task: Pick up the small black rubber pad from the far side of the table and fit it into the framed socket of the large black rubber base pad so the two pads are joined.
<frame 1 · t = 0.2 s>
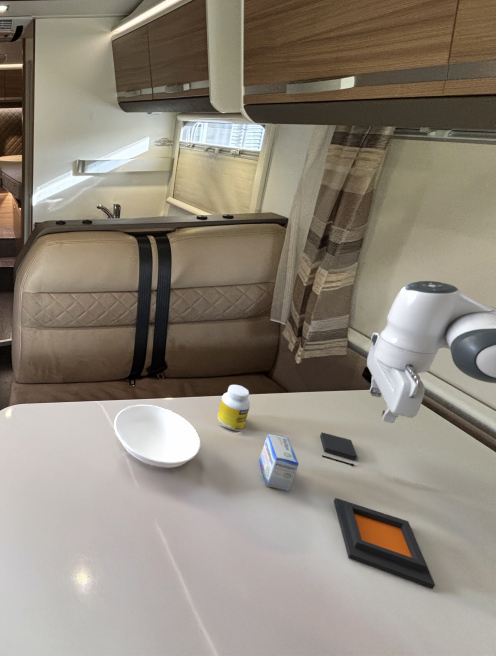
hand: (380, 407, 94), 18 cm above the table, tool pointing down, fingers open, 8 cm apart
medicine box: (273, 476, 99), on the table
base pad: (378, 541, 84), on the table
black pad: (335, 453, 105), on the table
bowl: (152, 451, 107), on the table
pill bottle: (229, 426, 115), on the table
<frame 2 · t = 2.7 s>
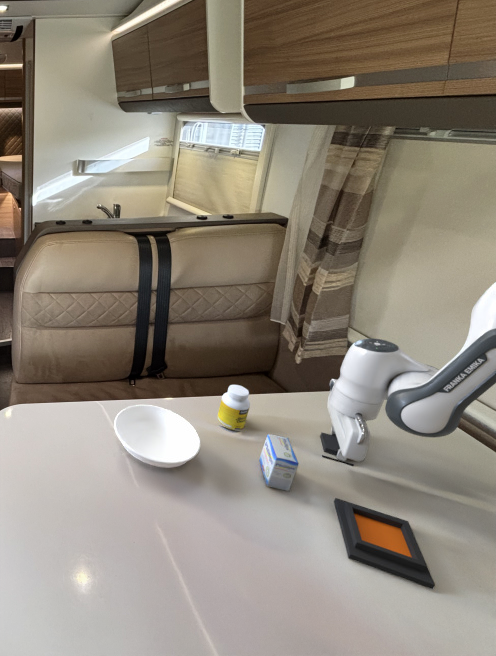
hand: (337, 447, 104), 2 cm above the table, tool pointing down, fingers closed on black pad, 6 cm apart
black pad: (335, 453, 105), on the table, touching gripper
everything else where it was.
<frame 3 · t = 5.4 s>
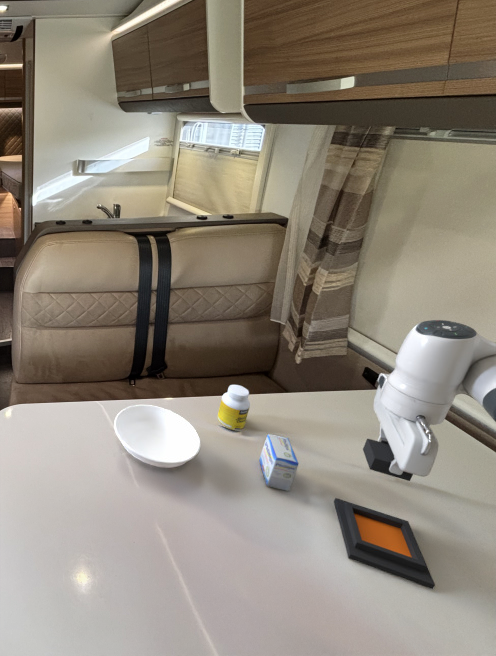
hand: (388, 457, 84), 15 cm above the table, tool pointing down, fingers closed on black pad, 6 cm apart
black pad: (385, 464, 85), point 13 cm above the table, touching gripper
everything else where it was.
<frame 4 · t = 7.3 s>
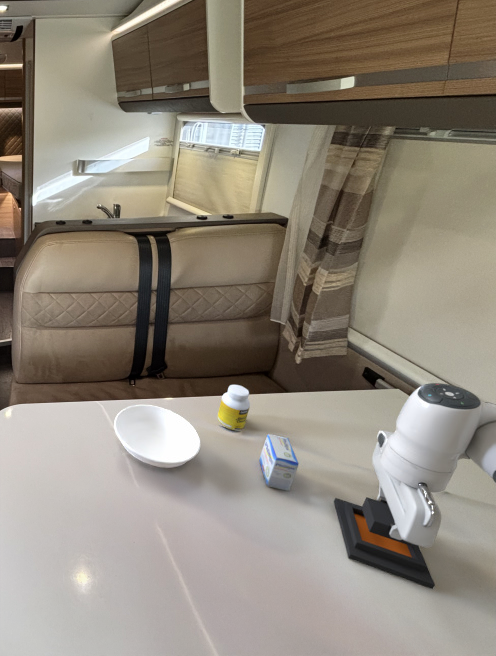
hand: (388, 519, 82), 6 cm above the table, tool pointing down, fingers closed on black pad, 6 cm apart
black pad: (384, 525, 83), point 4 cm above the table, touching gripper
everything else where it was.
when the fingers open (3 cm above the table, at t = 8.7 s): black pad stays where it is, resting on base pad.
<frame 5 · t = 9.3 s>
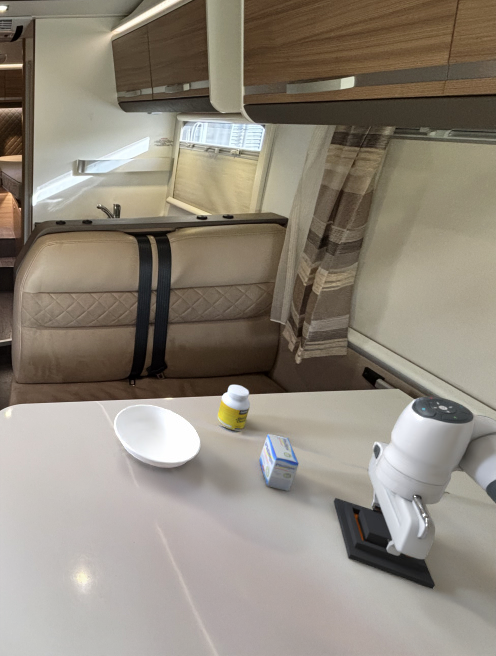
hand: (383, 529, 83), 3 cm above the table, tool pointing down, fingers open, 8 cm apart
black pad: (379, 536, 84), point 1 cm above the table, touching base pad
everything else where it was.
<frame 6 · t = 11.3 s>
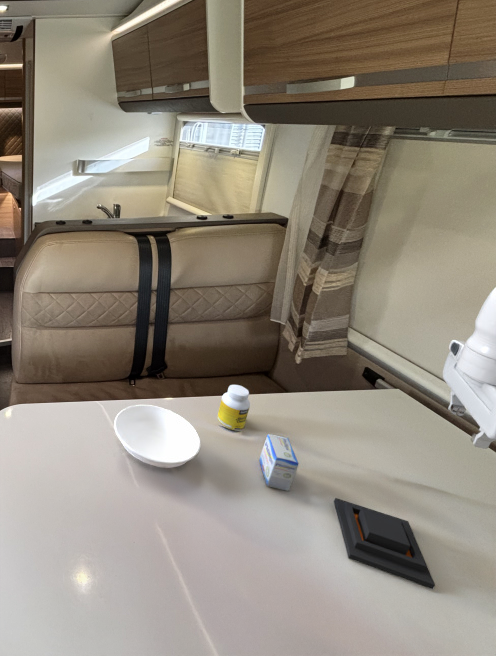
hand: (466, 428, 80), 23 cm above the table, tool pointing down, fingers open, 8 cm apart
nothing on the table moved.
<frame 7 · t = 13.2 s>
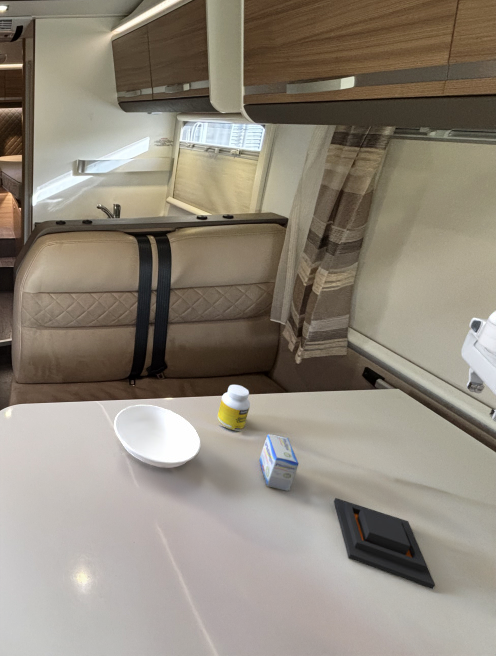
hand: (484, 404, 81), 27 cm above the table, tool pointing down, fingers open, 8 cm apart
nothing on the table moved.
at the end: black pad 0.1 cm off-centre on the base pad, point 1.3 cm above the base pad's base; black pad tilted 0°; the gripper is holding nothing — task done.
